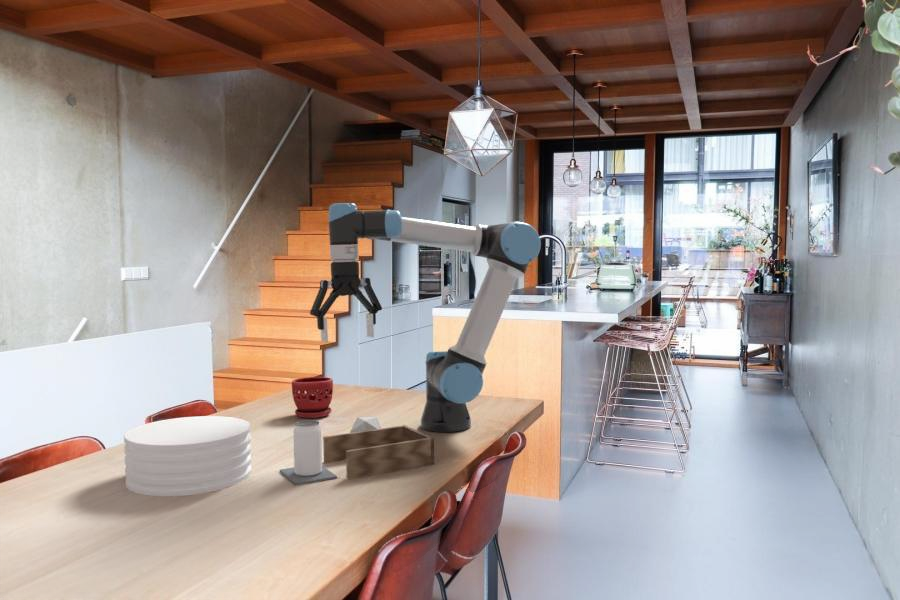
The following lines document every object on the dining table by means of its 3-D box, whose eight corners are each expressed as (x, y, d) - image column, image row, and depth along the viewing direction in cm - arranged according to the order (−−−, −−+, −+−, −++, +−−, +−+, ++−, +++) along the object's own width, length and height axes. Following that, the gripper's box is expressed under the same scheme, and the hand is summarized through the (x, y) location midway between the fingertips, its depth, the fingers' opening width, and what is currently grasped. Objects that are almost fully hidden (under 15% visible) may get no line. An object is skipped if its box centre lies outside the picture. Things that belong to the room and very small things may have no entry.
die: (369, 456, 190) (389, 423, 193) (340, 438, 192) (361, 406, 194) (372, 459, 198) (391, 427, 201) (344, 442, 200) (364, 410, 202)
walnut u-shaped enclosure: (405, 449, 195) (404, 425, 194) (434, 463, 181) (434, 438, 180) (323, 462, 183) (323, 436, 183) (348, 479, 169) (347, 451, 169)
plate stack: (130, 504, 153) (128, 451, 153) (121, 470, 178) (120, 423, 177) (263, 484, 166) (262, 435, 166) (238, 454, 191) (237, 411, 190)
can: (296, 469, 176) (295, 420, 175) (323, 468, 176) (322, 419, 175) (292, 477, 169) (291, 426, 168) (320, 476, 170) (319, 425, 169)
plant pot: (341, 413, 238) (341, 377, 237) (313, 421, 227) (313, 383, 226) (312, 409, 245) (311, 374, 244) (283, 416, 234) (283, 380, 233)
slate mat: (318, 465, 180) (318, 463, 180) (337, 478, 170) (337, 476, 170) (279, 471, 175) (279, 469, 175) (295, 485, 165) (295, 483, 165)
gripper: (306, 262, 186) (309, 345, 187) (392, 259, 199) (394, 336, 201) (295, 262, 192) (299, 342, 193) (379, 259, 205) (382, 333, 207)
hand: (347, 339), depth 197 cm, fingers open, 13 cm apart
